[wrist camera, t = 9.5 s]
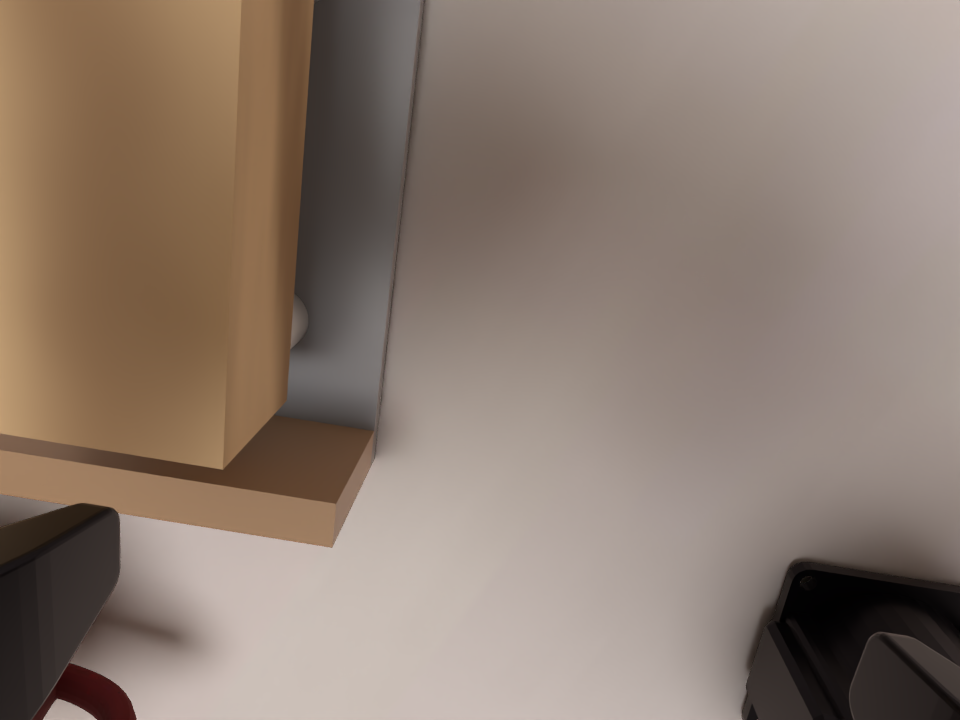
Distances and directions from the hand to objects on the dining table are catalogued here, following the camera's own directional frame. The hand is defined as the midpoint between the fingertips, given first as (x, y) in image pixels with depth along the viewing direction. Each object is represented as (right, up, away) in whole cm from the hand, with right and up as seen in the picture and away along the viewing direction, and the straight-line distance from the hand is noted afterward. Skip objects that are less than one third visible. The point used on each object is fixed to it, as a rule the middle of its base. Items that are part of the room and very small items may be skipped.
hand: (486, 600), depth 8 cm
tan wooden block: (-7, +8, +8) cm, 13 cm away
